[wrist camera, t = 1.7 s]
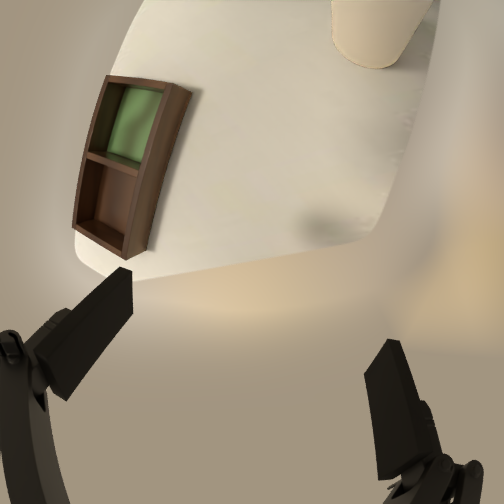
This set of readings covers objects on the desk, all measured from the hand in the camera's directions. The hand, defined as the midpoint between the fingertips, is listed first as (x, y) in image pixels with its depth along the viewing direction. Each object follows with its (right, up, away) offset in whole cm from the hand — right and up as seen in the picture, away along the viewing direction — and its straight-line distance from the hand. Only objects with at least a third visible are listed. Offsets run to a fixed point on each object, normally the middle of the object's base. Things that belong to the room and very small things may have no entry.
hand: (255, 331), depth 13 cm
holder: (-16, +16, +21) cm, 31 cm away
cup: (+13, +28, +9) cm, 32 cm away
